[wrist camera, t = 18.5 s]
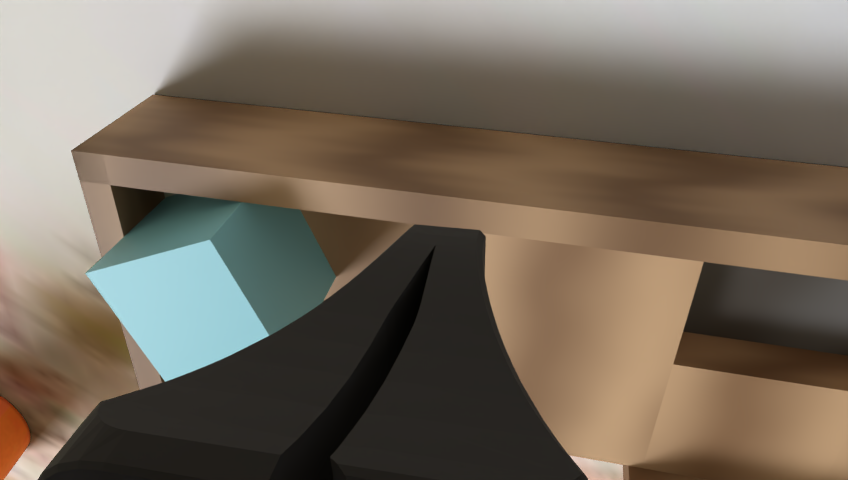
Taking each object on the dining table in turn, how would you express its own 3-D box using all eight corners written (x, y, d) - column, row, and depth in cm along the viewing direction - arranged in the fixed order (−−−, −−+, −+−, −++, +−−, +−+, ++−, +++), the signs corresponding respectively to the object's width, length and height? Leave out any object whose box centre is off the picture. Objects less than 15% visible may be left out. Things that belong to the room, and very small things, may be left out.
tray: (1284, 213, 18) (1457, 319, 15) (1036, 513, 26) (1111, 635, 22) (152, 94, 24) (70, 150, 20) (209, 371, 31) (157, 450, 27)
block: (336, 276, 24) (288, 366, 20) (231, 300, 25) (169, 387, 22) (275, 163, 22) (210, 239, 18) (165, 197, 23) (85, 273, 20)
